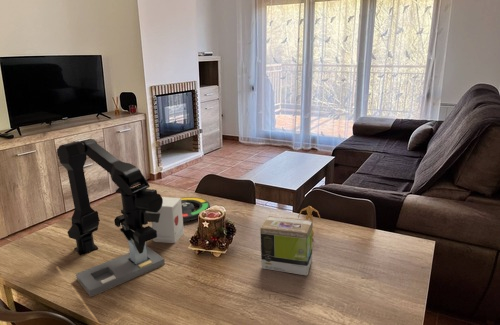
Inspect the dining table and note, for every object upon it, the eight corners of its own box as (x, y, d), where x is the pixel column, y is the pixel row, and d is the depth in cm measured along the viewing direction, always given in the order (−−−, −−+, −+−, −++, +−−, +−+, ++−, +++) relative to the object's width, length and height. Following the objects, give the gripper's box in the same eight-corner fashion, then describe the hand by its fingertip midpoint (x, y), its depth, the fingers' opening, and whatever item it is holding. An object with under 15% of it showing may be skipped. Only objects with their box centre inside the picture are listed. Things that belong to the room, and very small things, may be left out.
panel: (77, 280, 112) (75, 272, 111) (147, 252, 127) (146, 245, 127) (90, 298, 103) (89, 290, 103) (164, 265, 119) (164, 258, 118)
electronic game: (201, 200, 174) (201, 190, 173) (217, 217, 154) (216, 207, 153) (153, 208, 165) (152, 199, 164) (163, 228, 145) (162, 218, 144)
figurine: (296, 239, 134) (296, 209, 130) (298, 231, 139) (299, 203, 136) (319, 241, 132) (320, 211, 128) (320, 233, 137) (321, 204, 134)
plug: (130, 259, 119) (127, 239, 117) (142, 255, 121) (139, 234, 119) (136, 264, 116) (133, 243, 114) (147, 259, 118) (145, 238, 116)
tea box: (312, 260, 120) (313, 219, 116) (307, 277, 111) (308, 233, 106) (269, 253, 125) (268, 214, 120) (260, 269, 115) (259, 227, 111)
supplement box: (175, 244, 132) (172, 207, 128) (153, 242, 134) (148, 205, 130) (184, 233, 141) (181, 197, 136) (163, 231, 142) (159, 196, 138)
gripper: (170, 207, 112) (174, 252, 116) (142, 192, 125) (147, 233, 129) (136, 218, 105) (142, 265, 109) (110, 201, 118) (117, 244, 122)
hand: (138, 250), depth 118 cm, fingers closed on plug, 4 cm apart
